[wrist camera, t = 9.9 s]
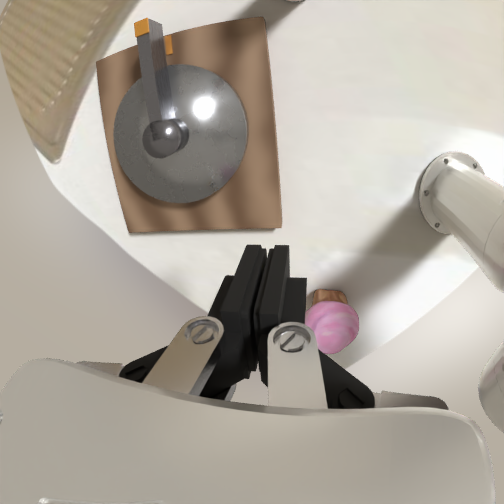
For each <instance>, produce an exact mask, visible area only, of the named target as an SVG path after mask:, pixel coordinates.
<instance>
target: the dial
mask: <svg viewBox="0 0 504 504" xmlns="http://www.w3.org/2000/svg"><path fill="white" fill-rule="evenodd" d="M134 28H135V37H137V44H138V52H139V60H140V68H141V75H142V77H141V78H140V79H139V80H137V81H136V82H135V83H134V84H133V85H132V86H131V88H130V89H129V90H128V91H127V93H126V94H125V96H124V97H123V99H122V101H121V103H120V105H119V107H118V110H117V113H116V116H115V122H114V130H113V137H114V146H115V151H116V155H117V158H118V160H119V163H120V165H121V167H122V169H123V170H124V172H125V174H126V175H127V176H128V178H129V179H130V180H131V181H132V182H133V183H134V184H135V185H136V186H137V187H138V188H139V189H140V190H142V191H143V192H145V193H146V194H148V195H150V196H152V197H154V198H156V199H159V200H162V201H166V202H171V203H188V202H194V201H198V200H201V199H204V198H206V197H208V196H210V195H212V194H213V193H215V192H216V191H218V190H219V189H220V188H221V187H223V186H224V185H225V184H226V183H227V181H228V180H229V179H230V178H231V177H232V176H233V175H234V173H235V172H236V170H237V169H238V168H239V166H240V164H241V162H242V160H243V158H244V155H245V152H246V149H247V144H248V138H249V124H248V118H247V113H246V110H245V107H244V104H243V102H242V100H241V99H240V97H239V95H238V94H237V92H236V91H235V89H234V88H233V87H232V86H231V85H230V84H229V83H228V82H227V81H226V80H225V79H223V78H222V77H221V76H219V75H217V74H216V73H214V72H212V71H209V70H207V69H204V68H201V67H198V66H193V65H186V64H175V65H168V66H167V61H166V54H165V46H164V39H163V30H162V24H160V23H158V22H155V21H153V20H151V19H148V18H145V19H143V20H140V21H138V22H136V23H134Z"/></svg>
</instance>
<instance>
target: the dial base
mask: <svg viewBox="0 0 504 504" xmlns="http://www.w3.org/2000/svg"><path fill="white" fill-rule="evenodd" d="M163 39H164V46H165V54H166V61H167V66H168V65H175V64H186V65H193V66H198V67H201V68H204V69H207V70H209V71H212V72H214V73H216V74H217V75H219V76H221V77H222V78H223V79H225V80H226V81H227V82H228V83H229V84H230V85H231V86H232V87H233V88H234V89H235V91H236V92H237V94H238V95H239V97H240V99H241V100H242V102H243V104H244V107H245V110H246V113H247V118H248V124H249V138H248V144H247V149H246V152H245V155H244V158H243V160H242V162H241V164H240V166H239V168H238V169H237V170H236V172H235V173H234V175H233V176H232V177H231V178H230V179H229V180H228V181H227V183H226V184H225V185H224V186H223V187H221V188H220V189H219V190H218V191H216V192H215V193H213V194H212V195H210V196H208V197H206V198H204V199H201V200H198V201H194V202H188V203H171V202H166V201H162V200H159V199H156V198H154V197H152V196H150V195H148V194H146V193H145V192H143V191H142V190H140V189H139V188H138V187H137V186H136V185H135V184H134V183H133V182H132V181H131V180H130V179H129V178H128V176H127V175H126V174H125V172H124V170H123V169H122V167H121V165H120V163H119V160H118V158H117V155H116V151H115V146H114V137H113V130H114V122H115V116H116V113H117V110H118V107H119V105H120V103H121V101H122V99H123V97H124V96H125V94H126V93H127V91H128V90H129V89H130V88H131V86H132V85H133V84H134V83H135V82H136V81H137V80H139V79H140V78H141V77H142V75H141V68H140V60H139V52H138V45H136V46H133V47H130V48H128V49H125V50H122V51H120V52H118V53H115V54H113V55H110V56H108V57H106V58H104V59H101V60H99V61H97V62H96V66H97V77H98V86H99V95H100V102H101V110H102V116H103V123H104V129H105V134H106V140H107V145H108V150H109V155H110V160H111V165H112V170H113V174H114V178H115V183H116V187H117V191H118V195H119V199H120V203H121V206H122V210H123V214H124V217H125V221H126V225H127V228H128V231H129V233H132V232H154V231H179V230H210V229H251V228H281V227H282V209H281V192H280V176H279V162H278V148H277V136H276V123H275V112H274V101H273V90H272V80H271V70H270V61H269V52H268V43H267V34H266V26H265V20H264V18H263V17H255V18H246V19H239V20H232V21H226V22H220V23H215V24H210V25H205V26H200V27H196V28H192V29H188V30H184V31H180V32H176V33H173V34H169V35H166V36H163Z"/></svg>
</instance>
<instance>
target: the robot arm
mask: <svg viewBox="0 0 504 504" xmlns="http://www.w3.org/2000/svg"><path fill="white" fill-rule="evenodd" d="M424 191H425V192H424ZM419 202H420V208H421V211H422V214H423V216H424V218H425V219H426V221H427V222H428V223H429V224H430V226H431V227H433V228H434V229H435V230H437V231H438V232H440V233H444V234H452V235H453V236H454V237H455V238H456V239H457V240H458V242H459V243H460V244H461V245H462V246H463V247H464V249H465V250H466V251H467V252H468V253H469V255H470V256H471V257H472V258H473V259H474V261H475V262H476V263H477V264H478V266H479V267H480V268H481V269H482V271H483V272H484V273H485V275H486V276H487V277H488V279H489V280H490V281H491V282H492V284H493V285H494V286H495V287H496V288H497V289H498V290H499V291H501V292H502V293H504V187H503V186H502V185H500V184H498V183H497V182H495V181H494V180H492V179H490V178H488V177H487V176H485V174H484V172H483V169H482V167H481V166H480V165H479V163H478V162H477V161H476V160H475V159H474V158H473V157H471V156H469V155H467V154H465V153H462V152H457V151H453V152H447V153H444V154H442V155H440V156H439V157H437V158H436V159H435V160H434V161H433V162H432V163H431V164H430V165H429V167H428V168H427V169H426V171H425V173H424V175H423V178H422V181H421V184H420V190H419ZM306 286H307V278H290V266H289V245H275V247H274V249H269V253H268V257H267V252H266V249H263V248H262V247H261V245H247V246H246V248H245V250H244V253H243V255H242V258H241V260H240V263H239V265H238V268H237V270H236V273H235V275H234V276H229V275H227V276H225V278H224V280H223V282H222V284H221V287H220V289H219V291H218V293H217V296H216V298H215V300H214V302H213V305H212V307H211V309H210V311H209V314H208V316H202V317H197V318H194V319H191V320H190V321H188V322H187V323H185V324H184V325H183V327H182V328H181V329H180V331H179V332H178V333H177V335H176V336H175V338H174V339H173V340H172V342H171V343H170V345H168V346H166V347H164V348H162V349H159V350H157V351H155V352H153V353H150V354H148V355H146V356H144V357H141V358H139V359H137V360H135V361H132V362H130V363H129V364H127V365H126V366H123V364H120V363H100V362H87V361H82V362H77V363H73V362H69V361H64V360H60V359H48V358H46V359H35V360H31V361H28V362H26V363H24V364H23V365H22V366H21V367H20V368H19V369H18V370H17V371H16V372H15V373H14V374H13V376H12V377H11V378H10V380H9V381H8V382H7V384H6V385H5V387H4V388H3V389H2V391H1V393H0V504H496V499H495V498H496V497H495V483H494V475H493V467H492V462H491V457H490V453H489V449H488V446H487V443H486V440H485V437H484V435H483V433H482V431H481V429H480V427H479V426H478V425H477V424H476V422H474V421H473V420H472V419H470V418H469V417H467V416H465V415H462V414H459V413H456V412H453V411H449V410H448V407H447V405H446V403H445V402H444V401H443V400H441V399H439V398H437V397H432V396H421V395H411V394H403V393H395V392H387V391H382V392H381V394H380V393H374V392H372V391H371V390H370V389H369V388H368V387H367V386H366V385H364V384H363V383H362V382H360V381H359V380H358V379H356V378H355V377H354V376H352V375H351V374H350V373H349V372H347V371H346V370H345V369H343V368H342V367H341V366H340V365H338V364H337V363H336V362H334V361H333V360H332V359H331V358H329V357H328V356H327V355H325V354H324V353H323V352H322V351H320V350H319V349H318V346H317V341H316V336H315V334H314V331H313V330H312V329H311V328H310V327H308V326H307V325H305V310H306ZM258 363H259V370H260V372H261V381H262V382H263V383H264V384H265V385H266V386H267V387H268V406H264V405H254V404H245V403H238V402H231V401H230V400H231V398H232V396H233V394H234V392H235V389H236V383H237V382H239V381H241V380H243V379H244V378H245V379H249V377H250V373H251V371H256V369H257V364H258ZM478 391H479V398H480V402H481V404H482V407H483V409H484V411H485V413H486V415H487V416H488V417H489V419H490V420H491V421H492V423H493V424H494V425H495V426H496V427H497V428H498V429H499V430H501V431H502V432H503V433H504V340H503V342H502V343H501V344H500V346H499V347H498V349H497V350H496V351H495V353H494V354H493V355H492V357H491V358H490V359H489V361H488V362H487V364H486V365H485V367H484V369H483V371H482V373H481V376H480V379H479V385H478Z"/></svg>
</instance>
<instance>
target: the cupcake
mask: <svg viewBox="0 0 504 504" xmlns="http://www.w3.org/2000/svg"><path fill="white" fill-rule="evenodd" d="M305 325H307V326H308V327H310V328H311V329H312V330H313V331H314V334H315V336H316V341H317V346H318V349H319V350H320V351H322V352H323V353H324V354H334V353H337V352H340V351H341V350H342V349H343V348H345V347H346V346H347V345H349V344H350V343H351V342H352V341H353V340H354V339H355V338H356V336H357V334H358V331H359V318H358V315H357V313H356V312H355V310H354V309H353V308H352V307H351V306H349V305H348V303H347V299H346V296H345V295H344V294H343V293H342V292H341V291H334V290H324V289H318V290H316V291H315V293H314V298H313V303H312V307H311V308H310V309H309V310H307V311H306V313H305Z"/></svg>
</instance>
